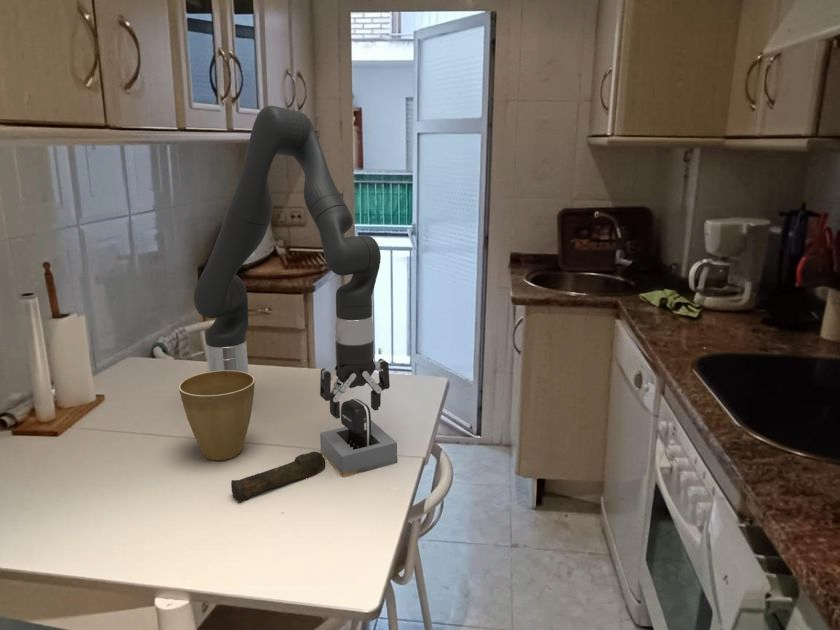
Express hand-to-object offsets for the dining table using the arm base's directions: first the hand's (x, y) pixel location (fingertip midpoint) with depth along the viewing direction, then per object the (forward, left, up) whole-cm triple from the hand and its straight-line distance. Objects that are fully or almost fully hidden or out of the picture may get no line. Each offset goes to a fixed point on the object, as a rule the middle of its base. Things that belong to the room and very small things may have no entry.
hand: (355, 413), depth 129 cm
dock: (0, 0, -10) cm, 10 cm away
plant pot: (-24, +16, -10) cm, 30 cm away
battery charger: (0, 0, -9) cm, 9 cm away
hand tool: (-17, -2, -11) cm, 20 cm away
